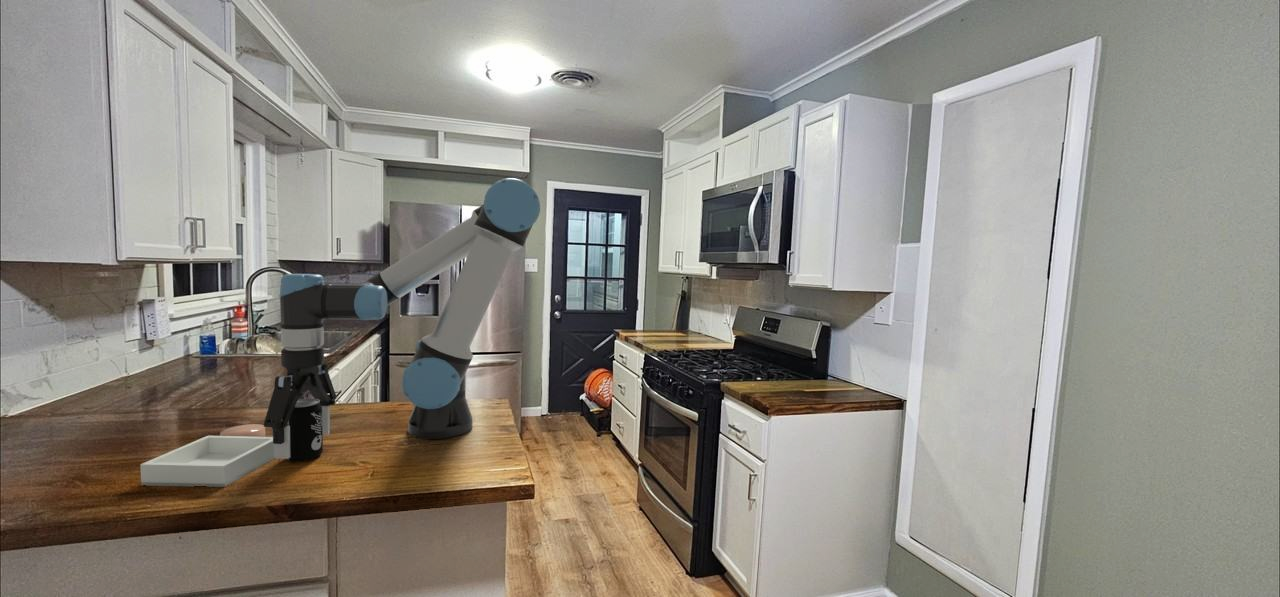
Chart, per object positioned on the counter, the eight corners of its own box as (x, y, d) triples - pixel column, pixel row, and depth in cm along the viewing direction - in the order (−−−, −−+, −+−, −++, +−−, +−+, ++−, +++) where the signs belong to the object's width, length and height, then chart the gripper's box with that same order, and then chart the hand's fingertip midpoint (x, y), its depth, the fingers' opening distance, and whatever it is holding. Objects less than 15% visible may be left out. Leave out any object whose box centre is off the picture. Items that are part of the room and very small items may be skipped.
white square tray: (280, 455, 108) (279, 437, 108) (224, 487, 93) (224, 466, 93) (208, 453, 108) (207, 435, 107) (141, 485, 93) (140, 464, 92)
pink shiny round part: (273, 437, 118) (273, 424, 118) (248, 450, 110) (248, 436, 110) (238, 436, 118) (238, 423, 118) (210, 449, 110) (210, 435, 110)
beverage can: (304, 464, 104) (303, 407, 103) (278, 461, 105) (276, 405, 104) (330, 452, 110) (329, 399, 109) (304, 449, 112) (303, 396, 111)
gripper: (320, 337, 118) (321, 425, 120) (239, 358, 93) (241, 469, 95) (352, 338, 118) (353, 426, 120) (280, 359, 93) (282, 470, 95)
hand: (303, 445), depth 107 cm, fingers open, 13 cm apart
